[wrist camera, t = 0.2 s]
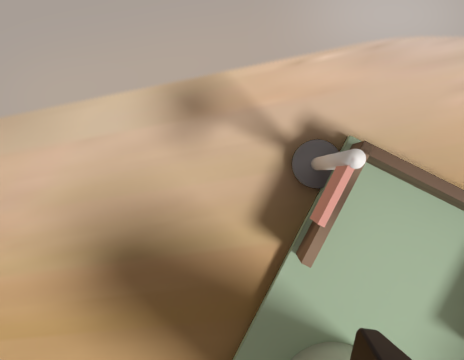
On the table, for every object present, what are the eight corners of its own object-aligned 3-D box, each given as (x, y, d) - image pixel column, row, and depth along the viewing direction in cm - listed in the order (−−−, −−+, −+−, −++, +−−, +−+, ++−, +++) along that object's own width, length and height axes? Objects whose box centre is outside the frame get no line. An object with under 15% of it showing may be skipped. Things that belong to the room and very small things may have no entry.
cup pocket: (474, 345, 23) (501, 365, 21) (295, 253, 24) (301, 263, 21) (533, 234, 23) (568, 242, 20) (352, 144, 23) (364, 140, 21)
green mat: (378, 522, 24) (382, 531, 24) (198, 426, 25) (196, 432, 24) (536, 230, 24) (544, 232, 23) (347, 136, 24) (350, 135, 23)
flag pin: (315, 216, 24) (354, 243, 15) (272, 195, 24) (287, 208, 15) (347, 153, 24) (407, 141, 15) (305, 132, 24) (339, 107, 15)
